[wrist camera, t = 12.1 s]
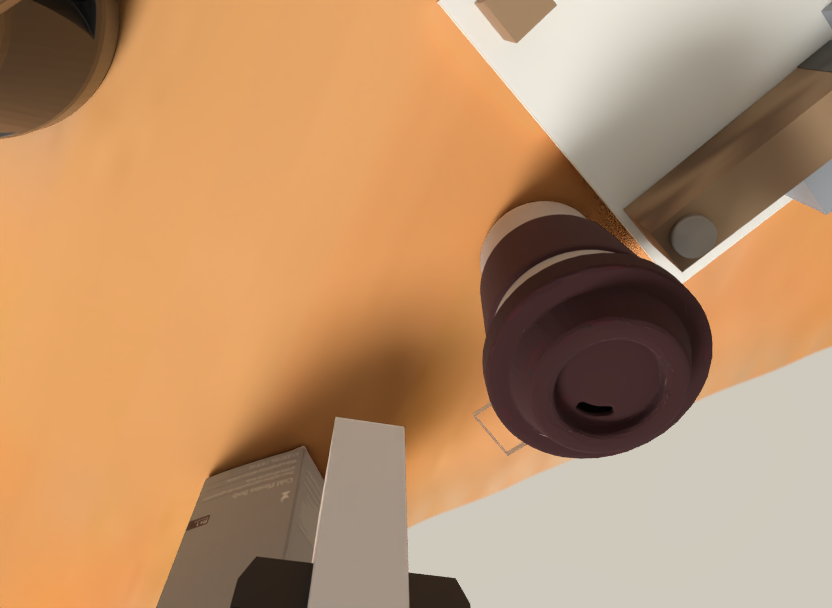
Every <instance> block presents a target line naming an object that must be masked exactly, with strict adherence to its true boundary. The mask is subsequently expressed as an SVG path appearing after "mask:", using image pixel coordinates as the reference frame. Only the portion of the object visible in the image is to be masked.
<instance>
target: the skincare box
mask: <svg viewBox="0 0 832 608" xmlns="http://www.w3.org/2000/svg"><path fill="white" fill-rule="evenodd" d="M324 482H325V481H324V479H323V478H322V476H321V474H320V473H319V471H318V469H317V467H316V465H315V464H314V462H313V460H312V458H311V457H310V455H309V453H308V451H307V449H306V447H305V446H301V447H299V448H296V449H294V450H292V451H289V452H285V453H282V454H278V455H275V456H271V457H268V458H265V459H261V460H258V461H255V462H252V463H249V464H246V465H243V466H240V467H237V468H234V469H231V470H228V471H225V472H222V473H220V474H217V475H214V476H212V477H209V478H207V479H206V480H205V483H204V485H203V488H202V490H201V493H200V496H199V498H198V501H197V503H196V506H195V509H194V511H193V514H192V516H191V519H190V521H189V524H188V526H187V529H186V532H185V534H184V537H183V539H182V542H181V545H180V547H179V550H178V552H177V555H176V558H175V560H174V563H173V565H172V568H171V571H170V573H169V576H168V578H167V581H166V584H165V586H164V589H163V591H162V594H161V596H160V599H159V602H158V604H157V607H156V608H230V605H231V601H232V598H233V594H234V590H235V587H236V583H237V579H238V578H239V577H240V575H241V574H242V573H243V572H244V571H245V569H246V568H247V567H248V566H249V565H250V563H251V562H252V561H253V560H254V559H255V557H256V556H258V557H266V558H275V559H283V560H291V561H300V562H308V563H312V558H313V551H314V544H315V538H316V531H317V524H318V517H319V511H320V505H321V500H322V494H323V488H324Z"/></svg>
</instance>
